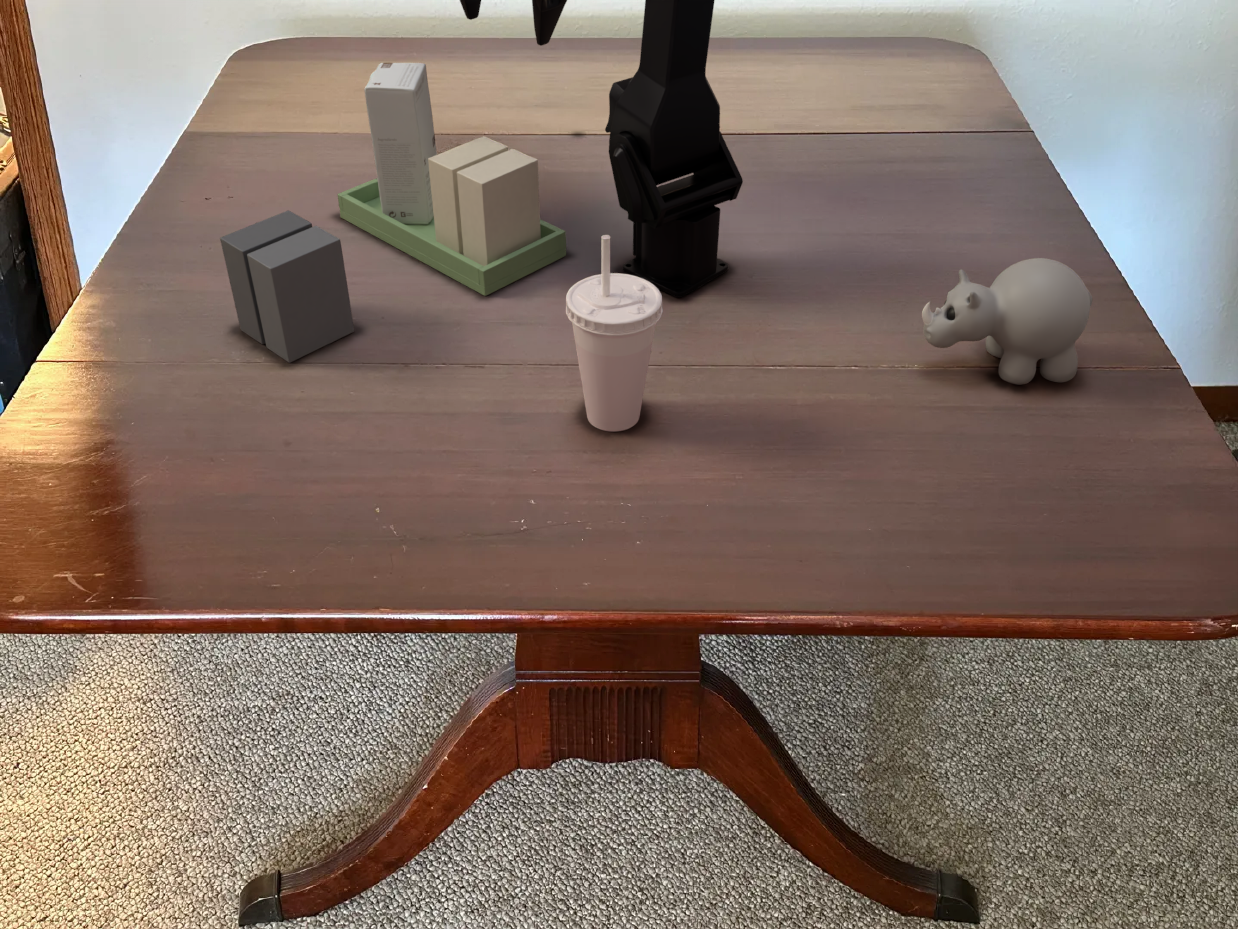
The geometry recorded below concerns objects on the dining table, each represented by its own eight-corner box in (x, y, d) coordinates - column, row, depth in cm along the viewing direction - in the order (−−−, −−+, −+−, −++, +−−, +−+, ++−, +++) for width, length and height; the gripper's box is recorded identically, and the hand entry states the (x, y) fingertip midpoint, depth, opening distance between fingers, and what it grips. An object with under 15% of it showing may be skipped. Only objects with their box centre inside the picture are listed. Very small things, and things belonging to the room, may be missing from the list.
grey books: (354, 331, 93) (340, 238, 88) (289, 363, 90) (270, 268, 85) (305, 300, 97) (288, 209, 91) (240, 330, 93) (219, 237, 88)
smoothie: (574, 385, 88) (571, 210, 79) (662, 392, 87) (669, 216, 78) (561, 439, 83) (556, 259, 74) (654, 447, 82) (661, 266, 73)
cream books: (541, 248, 102) (538, 159, 97) (488, 274, 98) (481, 183, 93) (489, 222, 105) (483, 135, 100) (436, 246, 102) (427, 158, 97)
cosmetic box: (431, 225, 105) (417, 89, 97) (380, 224, 105) (362, 88, 97) (443, 193, 109) (430, 61, 102) (393, 191, 110) (377, 59, 102)
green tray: (566, 255, 102) (565, 231, 101) (485, 296, 97) (483, 271, 96) (421, 183, 113) (418, 160, 111) (340, 217, 107) (336, 193, 106)
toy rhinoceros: (900, 339, 93) (918, 241, 87) (1054, 337, 93) (1082, 239, 88) (921, 395, 87) (942, 293, 82) (1086, 392, 88) (1117, 290, 82)
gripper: (345, -167, 98) (368, 27, 108) (501, -125, 88) (511, 84, 98) (450, -187, 104) (464, -2, 114) (607, -151, 94) (607, 48, 104)
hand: (507, 30), depth 107 cm, fingers open, 9 cm apart
